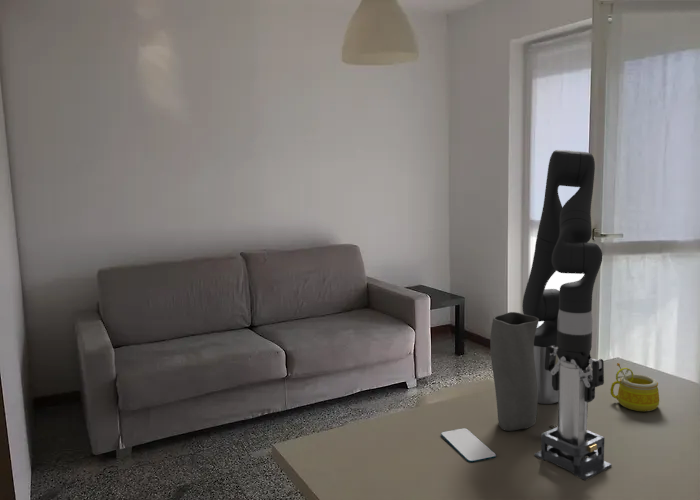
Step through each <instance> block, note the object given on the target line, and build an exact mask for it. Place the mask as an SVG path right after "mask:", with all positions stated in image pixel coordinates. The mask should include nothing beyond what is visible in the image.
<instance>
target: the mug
mask: <svg viewBox="0 0 700 500" xmlns="http://www.w3.org/2000/svg"><path fill="white" fill-rule="evenodd" d="M616 366H618V368H619V370H618V371H616V374H615V381H614V382H612V383H611V386H610V389H609V390H610V395H611V397H612V398H614V399H616V400H617V401H618V403H619V405H621V406H623V408H626V409H629V410H631V411H637V412H651V411H654V410H656V409H658V407H659V405H660V392H659V387H658V386H659V382H658V381H657V380H656V379H655V378H653V377H650V376H648V375H644V374H638V373H636V374H635V373H634V372H633V370H632V369H630V368H628V367H622V366H621V364H620V362H618V363H616ZM621 367H622V368H621ZM624 370H626V371H625V373H624V372H623V371H624ZM629 371H630V374H628V373H629ZM620 373H621V374H622V375H623V376H621V375H620V376H619V374H620ZM615 385H618V389H617V390H618V391H617V394H614V388H615Z"/></svg>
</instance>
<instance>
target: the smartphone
mask: <svg viewBox="0 0 700 500" xmlns="http://www.w3.org/2000/svg"><path fill="white" fill-rule="evenodd" d="M440 437H442V439H444V441H445V442H446V443H447V444H449V445H450V447H452V448H453V449H454V450H455V451H456V452H457V453H458V454H459V455H460V456H461V458H463V459H464V460H465V461H466V462H468V463H477V462H482V461H484V460H486V461H487V460H491V459H496V458H497V454H496V453H495V452H494V451H493V450H492V449H491V448H489V446H488V445H486V444H485V443H484V442H483V441H482V440H481V439H479V438H478V437H477V436H476V435H475V434H474V433H473V432H472V431H470V430H469V429H468V428H466V427H465V428H464V427H463V428H461V427H460V428H455V429H452V430H445V431H442V432H441V433H440Z"/></svg>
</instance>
